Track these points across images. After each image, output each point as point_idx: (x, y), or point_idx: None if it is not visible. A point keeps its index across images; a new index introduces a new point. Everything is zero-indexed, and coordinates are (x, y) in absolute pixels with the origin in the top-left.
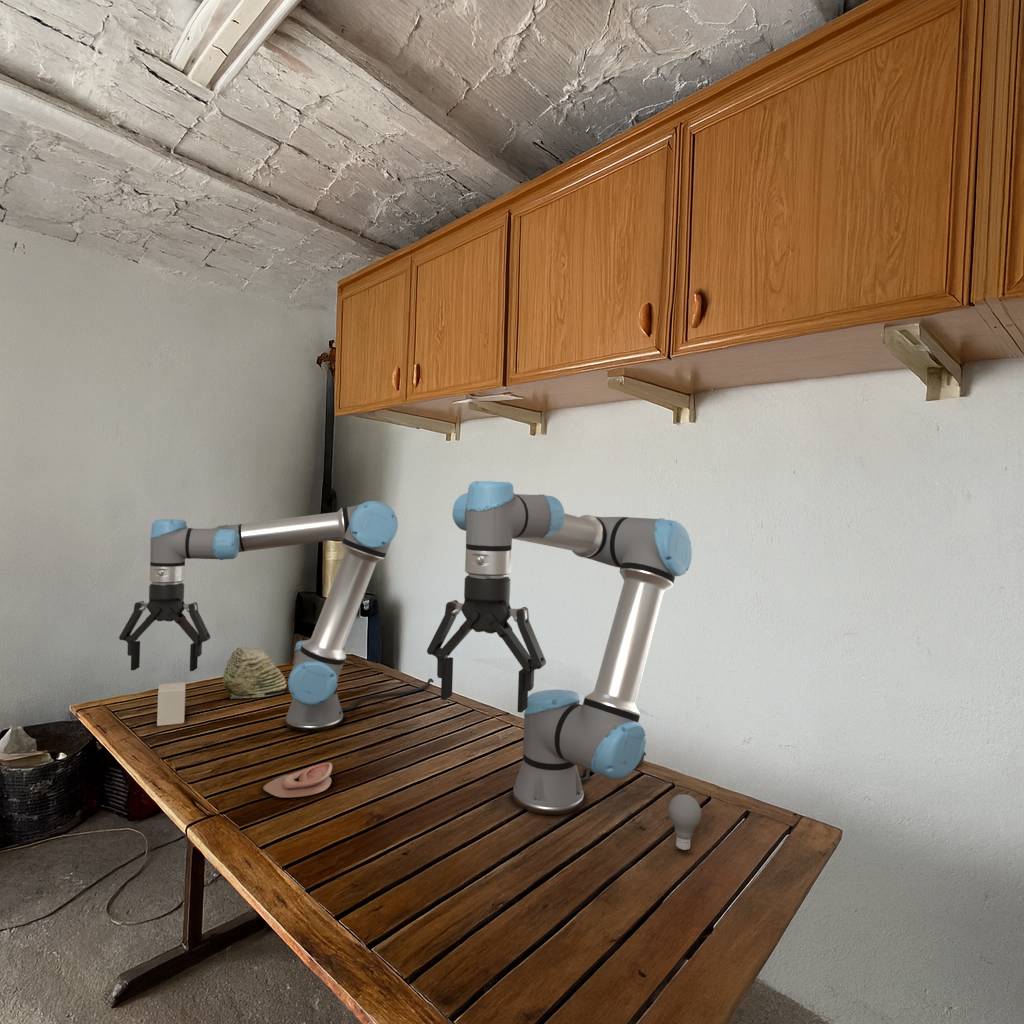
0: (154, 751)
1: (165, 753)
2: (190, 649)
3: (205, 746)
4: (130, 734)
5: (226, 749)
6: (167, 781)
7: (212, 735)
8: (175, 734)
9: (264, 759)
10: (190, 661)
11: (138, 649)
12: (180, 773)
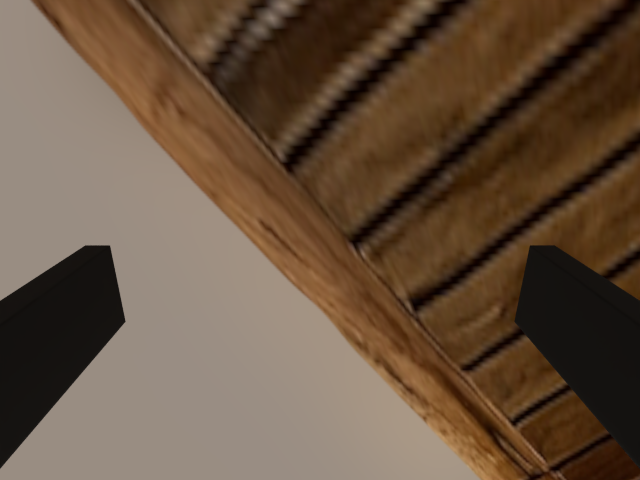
0: (309, 195)
1: (346, 209)
2: (638, 466)
3: (446, 155)
4: (156, 45)
5: (514, 178)
6: (414, 362)
7: (444, 51)
8: (312, 42)
9: (628, 247)
10: (559, 369)
11: (2, 363)
12: (429, 326)
